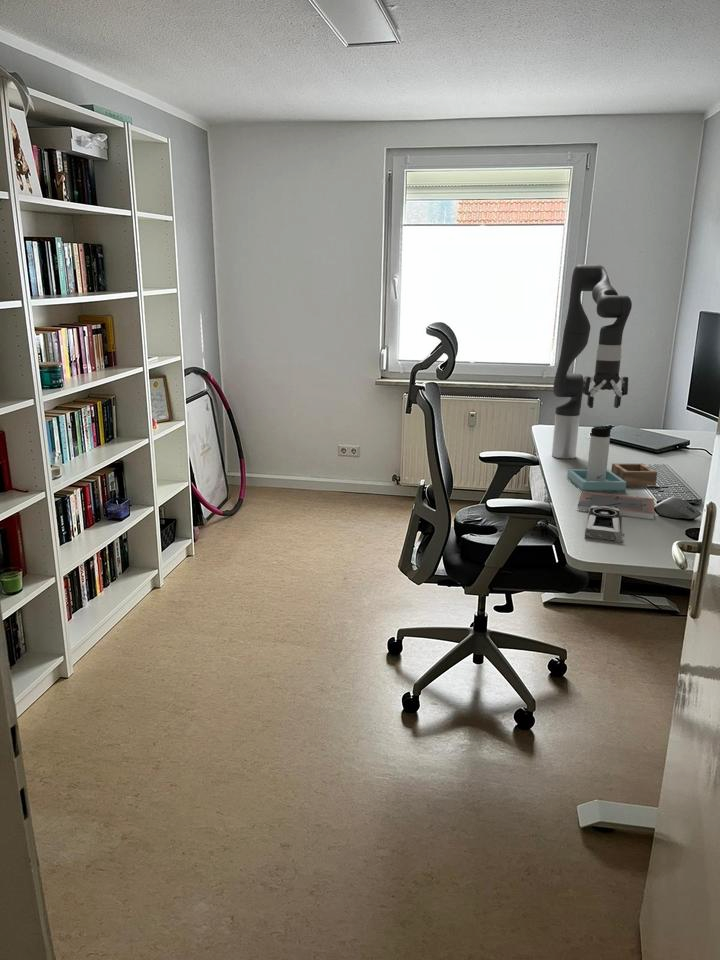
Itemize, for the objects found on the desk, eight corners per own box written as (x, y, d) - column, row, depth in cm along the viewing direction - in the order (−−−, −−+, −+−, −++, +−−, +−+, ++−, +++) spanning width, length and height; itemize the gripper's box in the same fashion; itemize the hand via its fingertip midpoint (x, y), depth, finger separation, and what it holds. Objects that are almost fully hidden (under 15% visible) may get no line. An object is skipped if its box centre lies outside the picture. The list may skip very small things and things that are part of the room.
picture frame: (576, 512, 208) (653, 521, 201) (577, 504, 208) (654, 513, 200) (581, 497, 223) (652, 505, 215) (581, 490, 222) (653, 497, 215)
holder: (610, 476, 245) (612, 463, 244) (640, 476, 245) (642, 463, 244) (623, 486, 234) (625, 472, 232) (655, 486, 234) (657, 472, 233)
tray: (567, 479, 242) (567, 469, 241) (607, 479, 242) (608, 469, 242) (582, 492, 226) (583, 482, 225) (625, 492, 227) (626, 482, 226)
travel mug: (602, 486, 230) (608, 428, 225) (583, 483, 234) (588, 426, 229) (608, 482, 235) (614, 425, 229) (589, 479, 239) (595, 423, 233)
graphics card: (585, 529, 184) (589, 502, 206) (584, 540, 185) (588, 513, 207) (625, 533, 180) (624, 506, 203) (623, 545, 181) (623, 517, 204)
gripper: (625, 357, 226) (620, 405, 231) (582, 357, 226) (578, 405, 230) (634, 359, 219) (628, 409, 224) (590, 359, 219) (585, 409, 223)
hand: (603, 407), depth 227 cm, fingers open, 8 cm apart
